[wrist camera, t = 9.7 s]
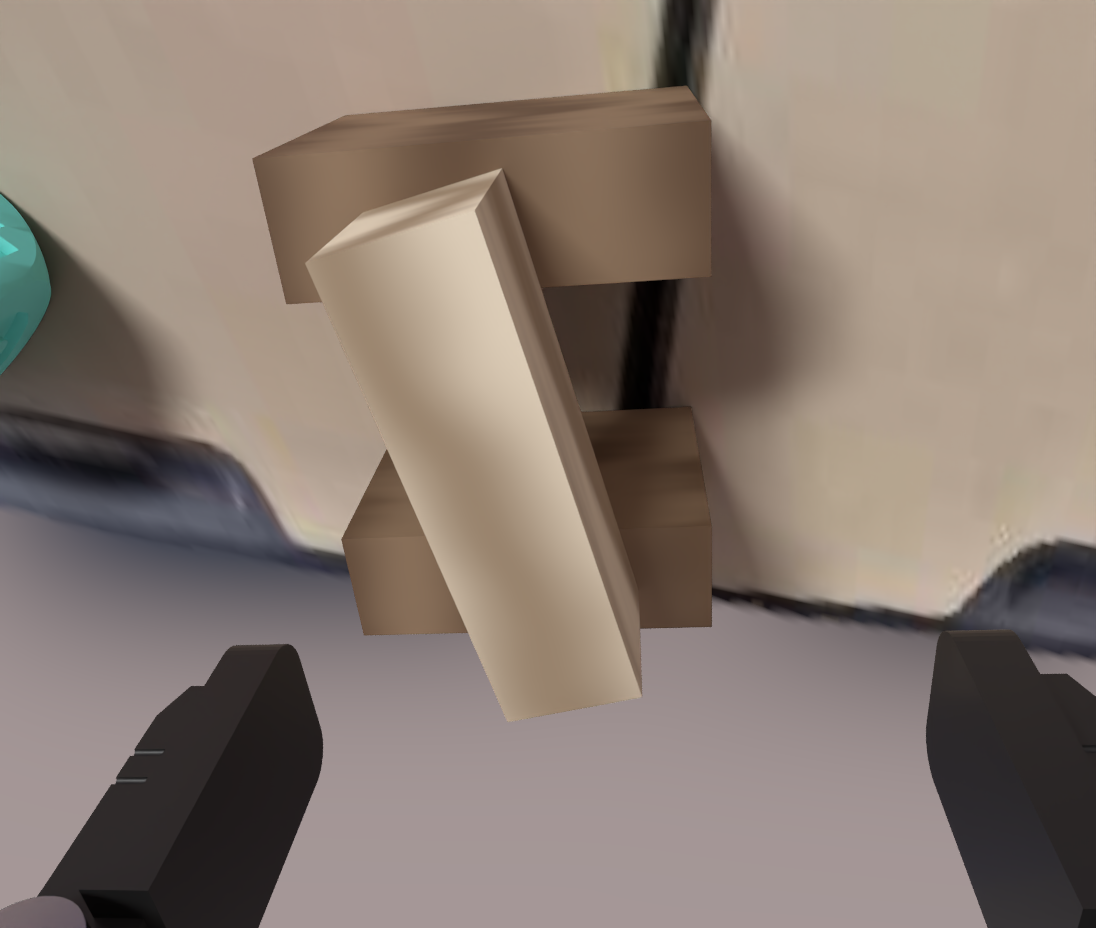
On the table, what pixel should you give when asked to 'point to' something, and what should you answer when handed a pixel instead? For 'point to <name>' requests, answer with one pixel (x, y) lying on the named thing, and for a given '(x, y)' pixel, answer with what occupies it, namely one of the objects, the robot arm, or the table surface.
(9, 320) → the decorative dice
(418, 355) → the maple beam
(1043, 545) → the table surface
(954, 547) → the table surface
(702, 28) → the table surface
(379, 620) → the slotted shelf
